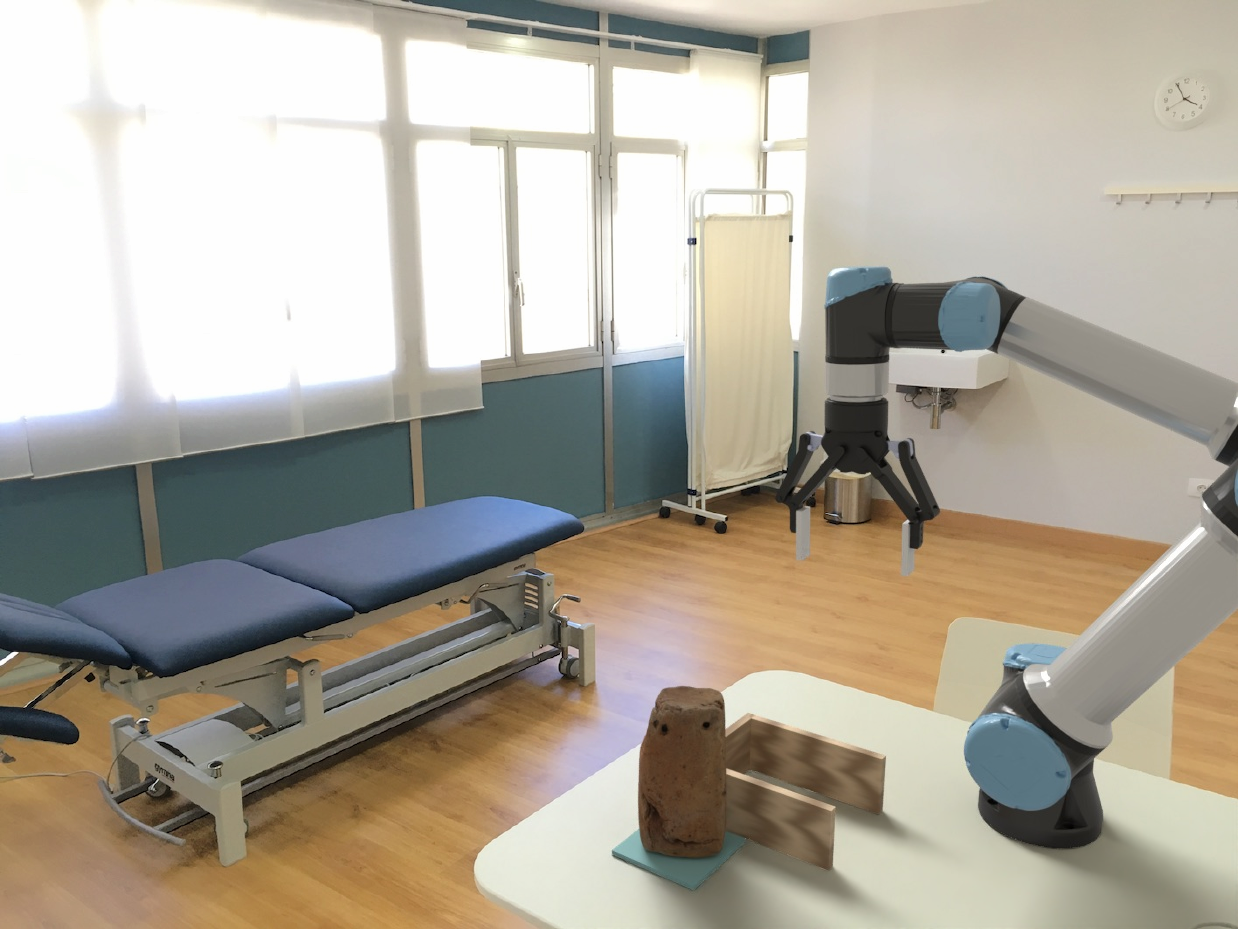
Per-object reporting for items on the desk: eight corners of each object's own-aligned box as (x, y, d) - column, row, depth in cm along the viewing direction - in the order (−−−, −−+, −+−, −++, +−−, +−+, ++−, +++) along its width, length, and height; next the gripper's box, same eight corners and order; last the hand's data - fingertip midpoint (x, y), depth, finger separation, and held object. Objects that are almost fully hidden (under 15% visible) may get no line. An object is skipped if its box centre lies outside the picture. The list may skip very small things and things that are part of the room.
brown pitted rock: (723, 828, 132) (726, 683, 128) (726, 863, 125) (730, 711, 120) (638, 826, 133) (638, 682, 128) (636, 861, 125) (637, 709, 121)
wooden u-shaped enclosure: (882, 810, 137) (886, 755, 135) (828, 871, 124) (831, 811, 122) (746, 763, 149) (747, 712, 147) (684, 814, 136) (684, 759, 135)
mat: (745, 842, 130) (745, 838, 130) (693, 890, 121) (693, 886, 121) (666, 811, 137) (666, 807, 137) (611, 854, 128) (611, 850, 128)
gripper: (970, 397, 121) (963, 571, 125) (774, 387, 134) (774, 544, 139) (952, 406, 115) (945, 589, 119) (749, 395, 128) (750, 559, 133)
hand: (853, 565), depth 129 cm, fingers open, 13 cm apart
